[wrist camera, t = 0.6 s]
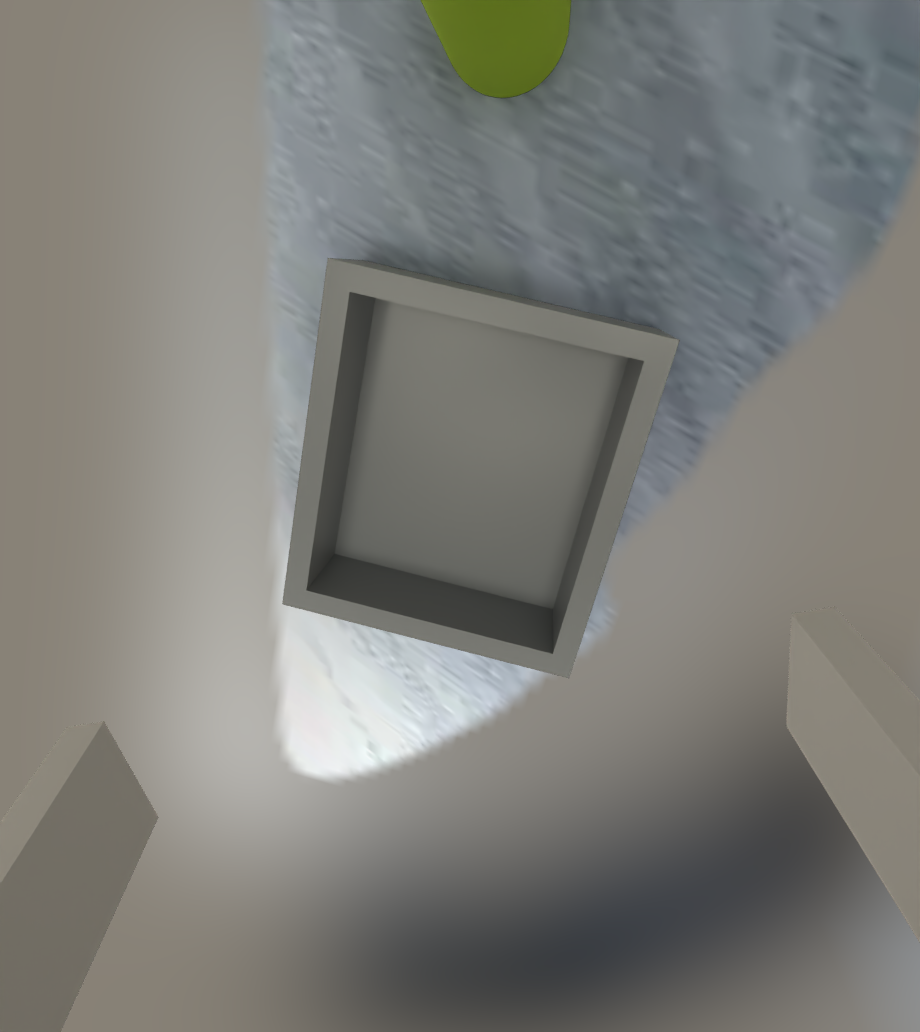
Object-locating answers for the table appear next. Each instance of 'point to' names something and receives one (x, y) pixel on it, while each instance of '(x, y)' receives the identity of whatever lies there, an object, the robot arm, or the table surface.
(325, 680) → the table surface
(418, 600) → the crate
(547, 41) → the soap dispenser
